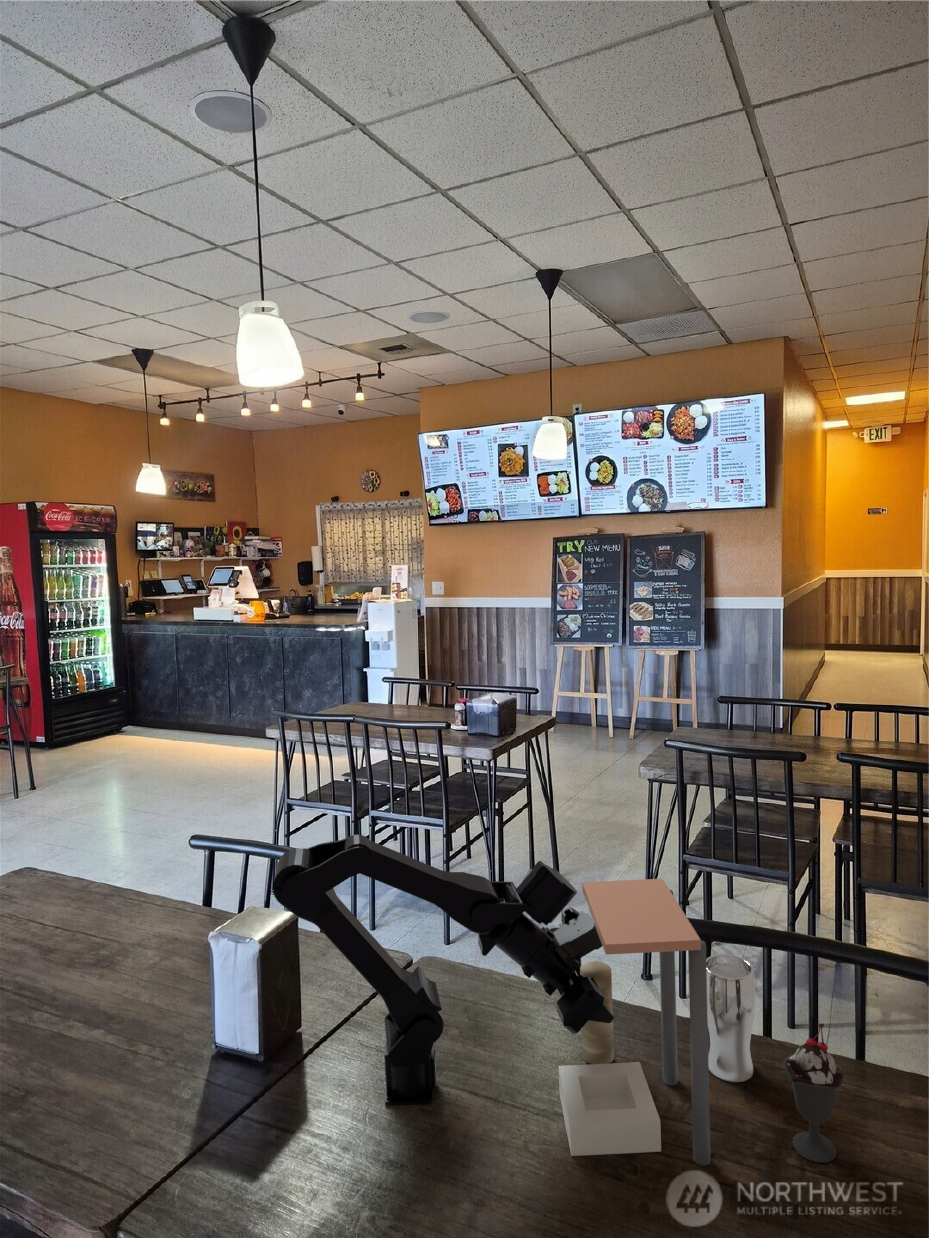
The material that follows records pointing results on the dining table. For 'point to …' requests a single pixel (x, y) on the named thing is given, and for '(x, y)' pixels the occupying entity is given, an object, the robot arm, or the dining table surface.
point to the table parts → (618, 1092)
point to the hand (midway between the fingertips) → (606, 1010)
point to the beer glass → (730, 1016)
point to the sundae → (814, 1096)
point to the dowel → (598, 1033)
